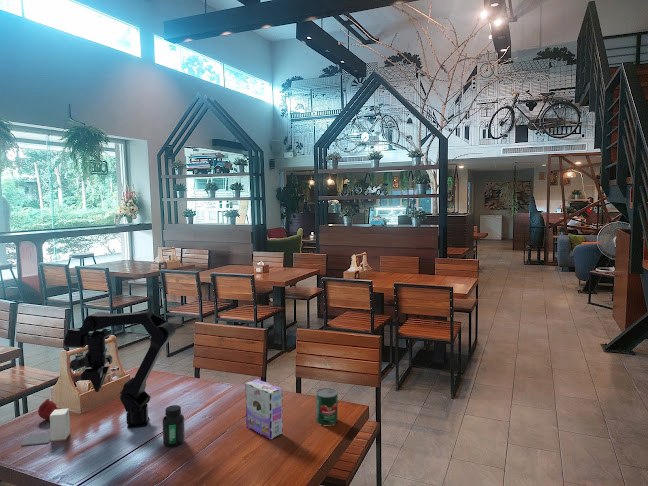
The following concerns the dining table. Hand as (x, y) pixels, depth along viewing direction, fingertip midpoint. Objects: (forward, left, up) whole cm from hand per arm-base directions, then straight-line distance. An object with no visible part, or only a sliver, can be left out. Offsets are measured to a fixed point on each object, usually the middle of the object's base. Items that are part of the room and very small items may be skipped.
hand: (98, 390), depth 164 cm
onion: (+19, -6, -12) cm, 23 cm away
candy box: (-58, +19, -12) cm, 62 cm away
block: (+10, +9, -12) cm, 18 cm away
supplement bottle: (-28, +21, -12) cm, 37 cm away
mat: (+17, +9, -12) cm, 22 cm away
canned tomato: (-81, +17, -12) cm, 84 cm away
